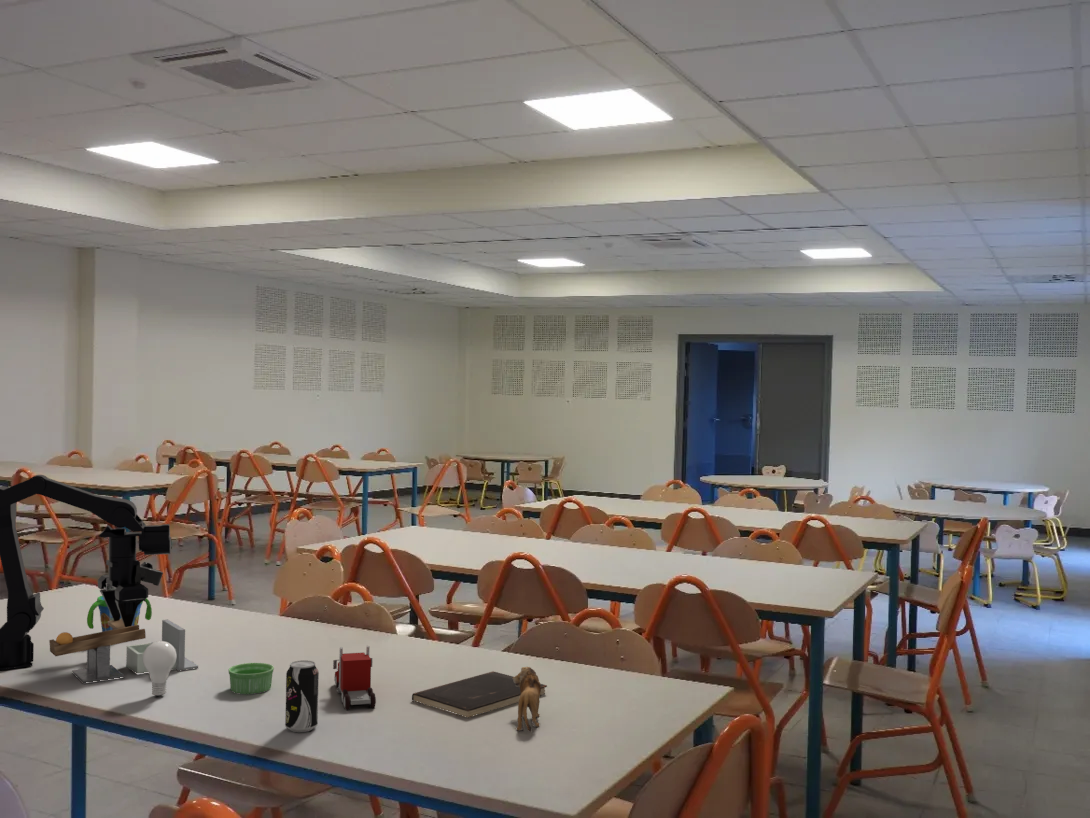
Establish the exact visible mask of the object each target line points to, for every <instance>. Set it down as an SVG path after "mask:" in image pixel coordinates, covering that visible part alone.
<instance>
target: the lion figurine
mask: <svg viewBox="0 0 1090 818" xmlns="http://www.w3.org/2000/svg"><path fill="white" fill-rule="evenodd" d="M520 669H521V670H520V672H519V673H517V675H514V676H513V681H514V683H516V686H520V692H521V695H520V699H519V702H517V704H518V705H517V727H516V731H517V732H518V731H523V730H524V727H523V719H524V724H525V726H526V728H527V732H529V733H532V732H533V729H532V727H531V725H530V723H529V721H528V710H529V711H530V714H531V722H532V726H533V727H534V728H537V727H540V723H539V722H537V718H538V717H540V713H539V708H540V696H541V695H540V692H541V684H542V683H541V682H540V679H539V676H538V675H537V673H536V671H535V669H533V668H532V667H530V666H524V667H523V666H522V667H521V668H520Z"/></svg>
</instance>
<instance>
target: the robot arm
mask: <svg viewBox="0 0 1090 818" xmlns="http://www.w3.org/2000/svg"><path fill="white" fill-rule="evenodd" d="M35 495H41V496H44V497H46V498H49V499H53V500H55V501H58V502H60V503H64V504H67V505H69V506H73V507H76V508H79V509H81V510H84V511H88V512H89V513H91V514H93V515H95V516H96V517H97V518H100V519H101V520H102V521H104V522H107V523H108V524H110V525H112V526H114V527H115V528H112V527H111V526H110V525H107V526H106V527H105V529H104V530H103V531H101V532H100V533H99V535H98V537H100V538H108V559H107V560H105V563H106V566H108V574H103V575H100V577H99V578H97V588H98V589H99V593H100V594H101V596H103V598H104V600H105V602H106V604H107V607H108V609H109V611H110V613H111V615H112V617H113V620H114V621H118V620H120V615H121V618H122V621H123V623H124V626H125V627H129V626H132V623H133V620H134V616H135V613H136V610H137V607H138V605H139V604H140V603H141V602H142V601H143V602H145V600H146V598H147V599H148V598H149V588H147V586H145V584H143V583H141V582H145V583H149V584H152V585H154V586H158V587H159V586H160V583H161V580H162V577H163V576H164V575H163V574H164V572H163V571H161V570H159V569H155V568H153V564H152V563H150V562H146V561H143V562H142V563H141V561H139V560H138V559H137V537H138V551H140V552H141V553H143V555H144V556H151V555H152V556H154V555H155V556H156V555H158V556H159V555H171V551H172V537H171V528H170V527H171V525H170V524H169V523H164V524H159V525H158V524H156V525H146V523H145V522H144V520H142V519H141V517H140V515H138V509H137V505H136V504H135V503H134V501H132V500H130V499H126V498H121V497H120V498H119V497H114V496H107V495H106V496H104V495H98V494H95V493H93V492H90V491H87V490H84V489H81V488H78V487H75V486H73V485H70V484H67V483H63V482H61V481H59V480H55V479H52V478H49V477H47V476H46V475H44V474H36V475H34V476H32V477H30V478H29V479H26V480H24V481H21V482H19V483H17V484H14V485H12V486H6V485H0V562H1V567H2V572H3V576H4V580H5V584H6V585H5V586H6V590H7V600H6V601H7V602H6V622H4V624H3V625H2V626H1V627H0V671H5V670H12V669H19V668H26V667H27V668H28V667H32V666H33V662H34V649H35V648H34V643H33V641H32V636H31V635H30V634H29V633H30V631H31V630H33V629H34V628H35V626H36V625H37V623H39V620H40V619H41V618H42V612H43V610H44V607H43V605H42V602H41V593H40V591H38V592H35V593H33V592H32V590H31V588H30V586H29V582H28V578H27V572H26V569H25V565H24V564H25V563H24V559H23V555H22V554H23V553H22V550H21V546H20V541H19V537H18V531H17V528H16V527H17V525H16V521H17V509H18V507H17V503H18V502H21V501H23V500H25V499H28V498H30V497H33V496H35ZM127 529H128V530H130V531H127Z"/></svg>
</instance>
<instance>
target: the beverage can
mask: <svg viewBox="0 0 1090 818" xmlns="http://www.w3.org/2000/svg"><path fill="white" fill-rule="evenodd" d="M319 674H320V673H319V670H318V667H317V666H316V662H315V661H314V660H296V661H292V662H290V663H289V668H288V670H287V671H286V673H285V677H286V678H285V716H284V717H285V721H284V722H285V724H284V725H285V727H286V729H288V730H289V731H291V732H292V733H293V732H294V733H305V732H310V731H312V730H314V729H315V728H316V727H317V726H318V721H319V720H318V719H319V715H318V714H319Z"/></svg>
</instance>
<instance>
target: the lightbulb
mask: <svg viewBox="0 0 1090 818" xmlns="http://www.w3.org/2000/svg"><path fill="white" fill-rule="evenodd" d="M151 643H152V644H150V645H149V646H148V647H147V648H146V649H145V651H144V653H143V664H144V666H145V668H146V669H147V671H148V672H149V673H148V674H149V678H150V681H151V688H152V689H151V694H152V695H153V696H155V697H156V696H161V697H162V696H164V695H165V694H166V693H167V681H168V678H169V674H170V672H171V671H172V670H171V669H172V667H173V666H174V664H175V662H176V658H177V654H176V650H175V648H174V647H173V646H172V645H171V644H170V643H168V642H165V641H162V640H158V641H154V642H151Z"/></svg>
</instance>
